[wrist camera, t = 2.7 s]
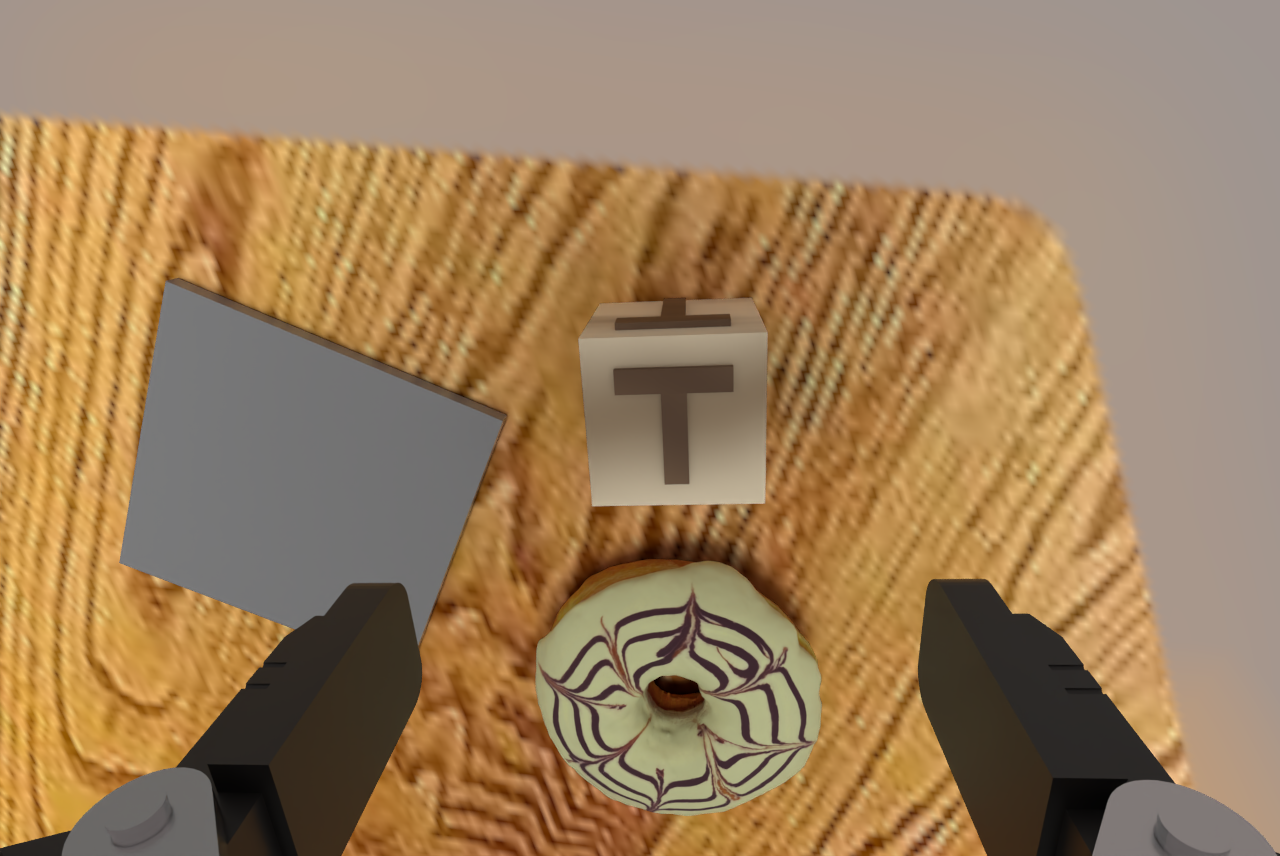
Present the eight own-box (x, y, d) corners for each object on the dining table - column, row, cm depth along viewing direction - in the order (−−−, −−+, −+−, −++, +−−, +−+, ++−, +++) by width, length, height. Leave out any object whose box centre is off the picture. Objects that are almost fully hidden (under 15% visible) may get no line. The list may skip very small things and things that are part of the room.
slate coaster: (413, 662, 29) (407, 672, 29) (130, 554, 28) (119, 563, 28) (507, 415, 25) (502, 421, 24) (177, 278, 24) (165, 281, 23)
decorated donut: (718, 491, 26) (723, 544, 22) (857, 692, 29) (882, 767, 25) (497, 616, 28) (471, 681, 25) (645, 789, 31) (640, 869, 28)
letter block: (751, 438, 25) (765, 506, 20) (610, 441, 25) (591, 509, 20) (751, 290, 23) (768, 326, 18) (599, 297, 23) (576, 333, 18)
